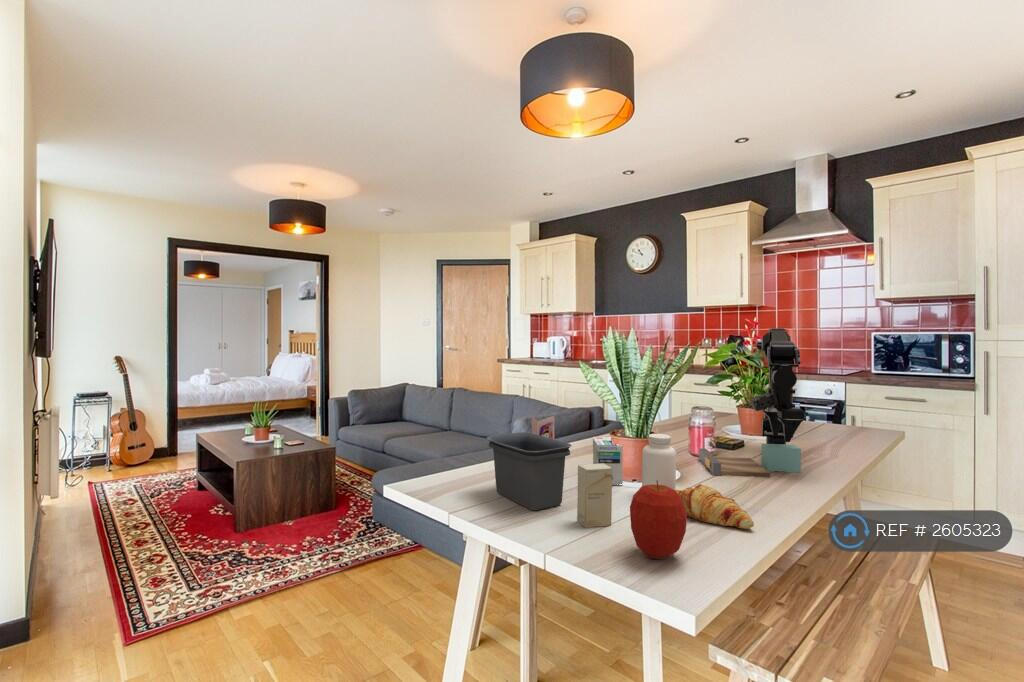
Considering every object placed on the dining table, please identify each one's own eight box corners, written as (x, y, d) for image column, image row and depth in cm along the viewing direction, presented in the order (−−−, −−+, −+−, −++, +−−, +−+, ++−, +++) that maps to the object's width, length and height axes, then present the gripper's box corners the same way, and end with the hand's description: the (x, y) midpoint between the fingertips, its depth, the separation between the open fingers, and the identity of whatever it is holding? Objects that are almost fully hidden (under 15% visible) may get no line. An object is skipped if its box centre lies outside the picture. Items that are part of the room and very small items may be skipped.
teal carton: (761, 466, 152) (761, 443, 152) (793, 467, 151) (793, 444, 150) (767, 471, 147) (767, 447, 147) (800, 472, 145) (800, 448, 145)
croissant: (760, 545, 104) (770, 508, 106) (737, 533, 99) (748, 494, 101) (672, 513, 121) (683, 481, 123) (649, 501, 116) (660, 468, 118)
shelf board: (706, 460, 159) (706, 456, 159) (750, 461, 157) (750, 457, 157) (721, 475, 142) (721, 471, 142) (770, 477, 140) (770, 473, 140)
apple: (662, 574, 84) (662, 491, 84) (616, 553, 93) (617, 477, 92) (698, 558, 90) (699, 481, 90) (653, 539, 99) (653, 468, 98)
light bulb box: (623, 486, 133) (623, 445, 132) (597, 485, 133) (597, 445, 132) (615, 474, 143) (616, 436, 143) (592, 474, 143) (592, 436, 143)
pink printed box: (539, 474, 143) (539, 421, 143) (516, 470, 147) (516, 419, 146) (556, 465, 153) (556, 415, 153) (535, 462, 157) (535, 413, 156)
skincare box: (585, 528, 104) (585, 470, 104) (576, 520, 108) (576, 464, 108) (612, 525, 106) (613, 467, 105) (603, 517, 110) (603, 462, 110)
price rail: (698, 459, 160) (698, 448, 160) (705, 459, 160) (705, 448, 160) (712, 475, 142) (712, 463, 142) (720, 475, 142) (720, 463, 142)
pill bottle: (678, 502, 120) (678, 439, 120) (643, 500, 121) (643, 438, 121) (673, 491, 128) (673, 432, 127) (640, 490, 129) (640, 431, 129)
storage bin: (481, 492, 128) (481, 435, 127) (531, 482, 136) (531, 429, 136) (530, 518, 110) (530, 452, 109) (584, 504, 118) (584, 444, 118)
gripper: (742, 381, 158) (742, 431, 159) (763, 388, 140) (763, 444, 140) (780, 382, 157) (780, 432, 157) (806, 389, 138) (806, 446, 139)
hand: (781, 438), depth 148 cm, fingers open, 9 cm apart
